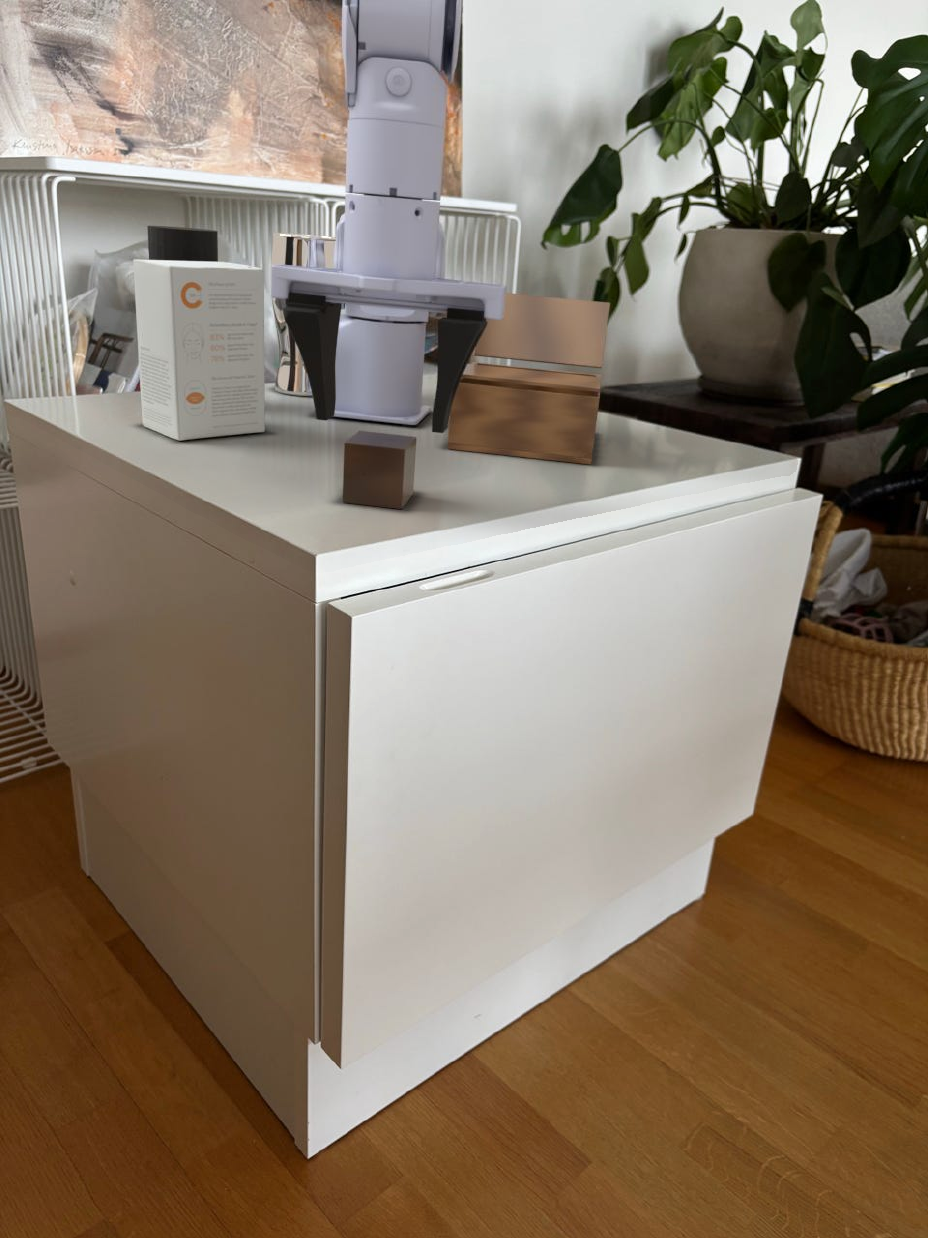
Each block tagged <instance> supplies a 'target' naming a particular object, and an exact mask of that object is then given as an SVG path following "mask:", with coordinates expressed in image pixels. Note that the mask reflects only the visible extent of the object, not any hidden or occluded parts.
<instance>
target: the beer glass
mask: <svg viewBox="0 0 928 1238" xmlns="http://www.w3.org/2000/svg"><path fill="white" fill-rule="evenodd" d="M335 241H336V236H335V237H334V236H326V235H318V234H317V235H315V234H304V233H289V232H273V233H272V247H271V259H270V260H271V261H270V267H271V266H272V265H293V266H305V267H318V268H332V269H333V263H334V247H335ZM288 302H289V299H280V298H272V297H271V303H272V304H271V305H272V311H273V312H272V313H273V318H274V324H275V329H276V335H277V337H276V338H277V343H278V366H277V372H276V377H275V383H274V390H275V391H276V392H277V393H280V394H283V395H284V394H285V395H290V396H298V397H313V395H312V390H311V386H310V382H309V379H308V375H307V372H306V368H305V365H304V362H303V360H302V357H301V354H300V352H299V349H298V347H297V345H296V342H295V340H294V338H293V336H292V334H291V332H290V330H289V328H288V326H287V324H286V322H285V319H284V315H283V308H285V307H287V303H288Z"/></svg>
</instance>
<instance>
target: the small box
mask: <svg viewBox="0 0 928 1238" xmlns="http://www.w3.org/2000/svg"><path fill="white" fill-rule="evenodd" d="M132 261H133V279H134V280H133V281H134V300H135V313H136V314H135V316H136V333H137V350H138V351H137V352H138V369H139V386H140V387H139V388H140V402H141V403H140V405H141V420H142V425H143V427H144V428H147V429H150V430H151V431H154V432H156V433H159V434H161V435H162V436H163V435H164V436H166V437H168V438H170V439H173V440H175V441H179V442H180V441H187V440H189V441H190V440H197V439H204V438H205V439H206V438H215V437H225V436H234V435H243V434H253V433H254V434H255V433H264V432H265V430H266V429H265V428H266V427H265V424H266V423H265V422H266V421H265V419H266V417H265V415H266V414H265V413H266V410H265V409H266V407H265V403H266V402H265V401H266V399H265V398H266V397H265V396H266V395H265V388H266V387H265V385H266V384H265V269H263V268H261V267H257V266H252V265H247V264H242V263H236V262H235V263H234V262H227V261H218V262H205V261H169V260H149V259H137V258H135V259H133V260H132Z"/></svg>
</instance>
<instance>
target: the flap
mask: <svg viewBox="0 0 928 1238" xmlns="http://www.w3.org/2000/svg"><path fill="white" fill-rule="evenodd" d="M610 309H611V302H607V301H595V300H587V299H586V300H584V299H575V298H574V299H573V298H564V297H553V296H544V295H543V296H542V295H533V294H532V295H531V294H522V293H511V292H506V299H505V310H504V317H503V318H502V319H500V320H497V319H487V318H486V321H487V322H488V323H487V326H486V328H485V330H484V332H483V334H482V336H481V337H480V339H479V341H478V343H477V345H476V347H475V349H474V356H475V357H485V358H493V359H505V360H513V361H524V362H533V363H544V364H552V365H563V366H573V367H582V368H590V369H591V368H592V369H602V368H603V362H604V355H605V354H604V353H605V348H606V347H605V346H606V338H607V331H608V325H609V324H608V323H609V317H610Z"/></svg>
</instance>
